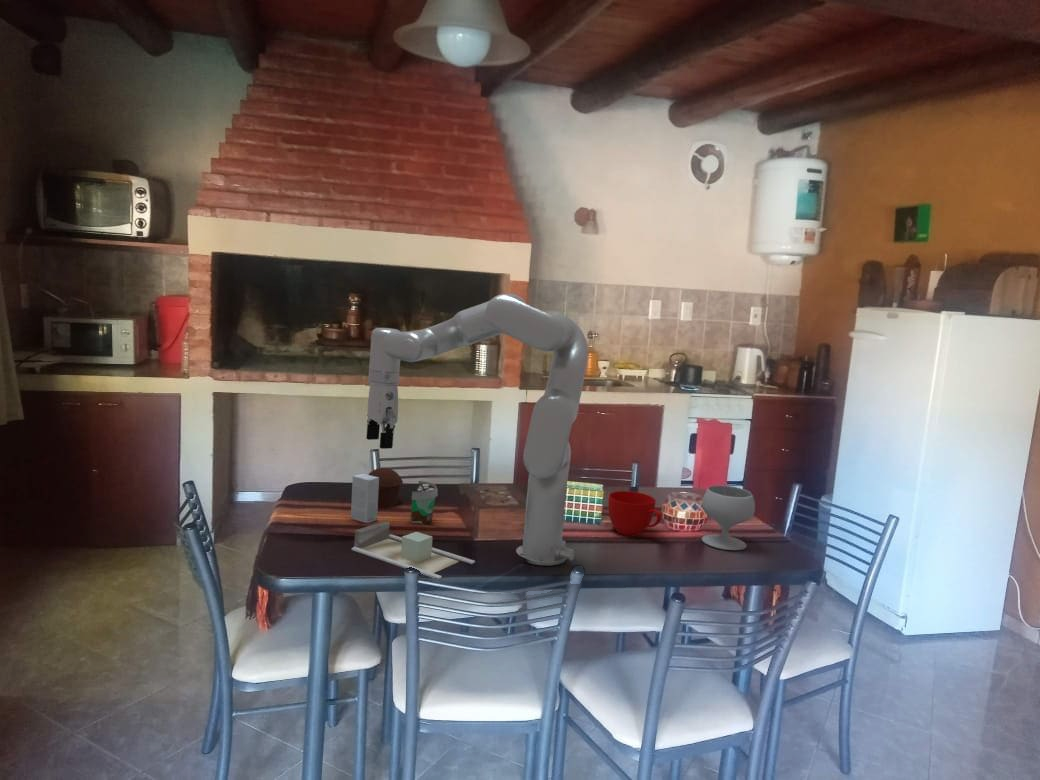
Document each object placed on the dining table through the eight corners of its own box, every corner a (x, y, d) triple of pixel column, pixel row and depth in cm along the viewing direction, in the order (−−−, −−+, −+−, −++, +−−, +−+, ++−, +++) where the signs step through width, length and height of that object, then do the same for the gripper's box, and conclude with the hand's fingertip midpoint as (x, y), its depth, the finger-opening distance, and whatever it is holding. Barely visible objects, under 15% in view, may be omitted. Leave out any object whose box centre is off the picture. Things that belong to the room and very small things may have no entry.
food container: (432, 530, 202) (435, 494, 201) (409, 528, 202) (411, 492, 201) (438, 516, 214) (441, 481, 213) (417, 514, 214) (419, 480, 213)
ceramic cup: (641, 547, 202) (645, 511, 200) (595, 528, 215) (599, 494, 213) (672, 539, 210) (676, 504, 209) (627, 522, 223) (630, 488, 222)
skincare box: (377, 520, 207) (379, 477, 205) (366, 523, 203) (369, 480, 201) (360, 515, 210) (362, 473, 208) (349, 518, 206) (351, 475, 204)
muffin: (403, 508, 219) (405, 474, 217) (364, 509, 216) (366, 474, 214) (399, 496, 230) (400, 464, 229) (361, 496, 227) (363, 464, 226)
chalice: (750, 540, 215) (757, 489, 213) (749, 556, 202) (756, 501, 200) (699, 532, 219) (705, 481, 217) (695, 547, 206) (701, 493, 204)
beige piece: (459, 565, 179) (460, 544, 178) (432, 577, 170) (433, 556, 170) (382, 540, 191) (383, 521, 190) (353, 550, 183) (355, 530, 182)
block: (431, 557, 180) (432, 536, 179) (417, 562, 176) (418, 541, 175) (414, 551, 182) (416, 531, 182) (400, 557, 178) (402, 536, 177)
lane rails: (474, 567, 179) (475, 560, 178) (437, 584, 167) (438, 577, 167) (390, 540, 192) (391, 534, 192) (351, 554, 181) (351, 548, 180)
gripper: (410, 383, 187) (405, 451, 189) (385, 372, 201) (381, 435, 204) (381, 382, 183) (376, 452, 185) (358, 371, 197) (353, 436, 200)
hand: (379, 443), depth 195 cm, fingers open, 9 cm apart
